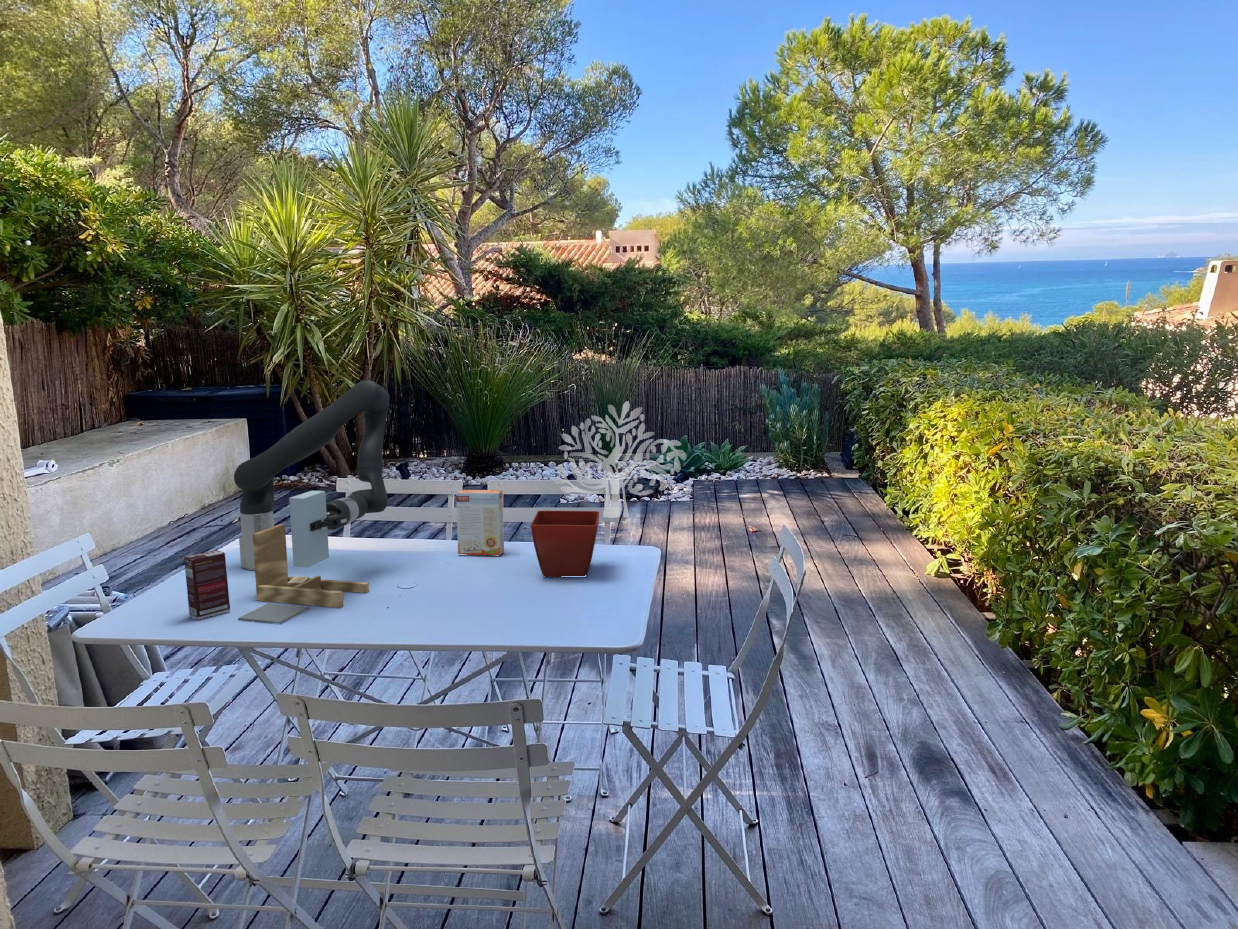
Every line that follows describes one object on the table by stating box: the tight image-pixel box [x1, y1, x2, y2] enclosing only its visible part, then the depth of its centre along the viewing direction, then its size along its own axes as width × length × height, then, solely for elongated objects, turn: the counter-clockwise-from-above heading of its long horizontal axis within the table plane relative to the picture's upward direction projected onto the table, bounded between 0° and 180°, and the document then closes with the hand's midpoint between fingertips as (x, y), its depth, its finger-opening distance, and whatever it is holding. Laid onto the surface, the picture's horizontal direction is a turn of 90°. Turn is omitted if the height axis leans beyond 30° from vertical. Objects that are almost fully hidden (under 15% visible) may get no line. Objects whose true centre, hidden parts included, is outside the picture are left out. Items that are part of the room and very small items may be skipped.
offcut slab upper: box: [287, 576, 311, 587], centre depth 235 cm, size 4×6×2 cm, turn 0°
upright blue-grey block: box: [288, 490, 330, 568], centre depth 223 cm, size 4×10×18 cm, turn 167°
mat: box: [237, 602, 310, 624], centre depth 218 cm, size 12×12×1 cm
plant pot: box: [530, 510, 600, 578], centre depth 256 cm, size 19×19×17 cm
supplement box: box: [183, 549, 231, 620], centre depth 217 cm, size 9×5×16 cm, turn 141°
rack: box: [252, 523, 370, 609], centre depth 232 cm, size 26×14×18 cm, turn 76°
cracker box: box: [455, 489, 505, 556], centre depth 275 cm, size 14×6×21 cm, turn 84°
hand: (303, 527), depth 220 cm, fingers closed on upright blue-grey block, 4 cm apart
